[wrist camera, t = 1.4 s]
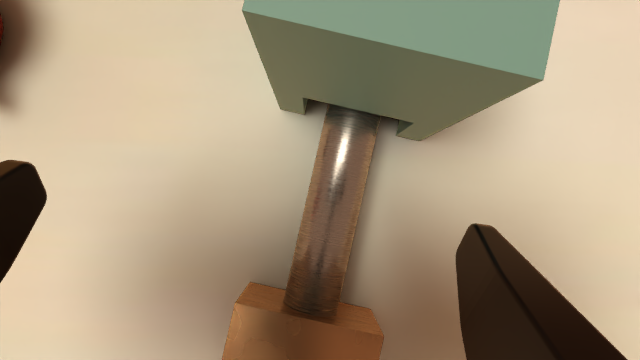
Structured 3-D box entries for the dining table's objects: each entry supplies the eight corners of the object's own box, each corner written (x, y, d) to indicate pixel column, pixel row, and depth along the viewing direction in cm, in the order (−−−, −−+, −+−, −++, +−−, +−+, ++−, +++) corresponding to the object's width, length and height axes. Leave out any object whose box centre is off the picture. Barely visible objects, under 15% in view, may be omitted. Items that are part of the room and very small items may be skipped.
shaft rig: (352, 390, 19) (361, 437, 15) (231, 363, 19) (211, 404, 15) (494, -256, 20) (534, -355, 16) (381, -283, 20) (395, -388, 16)
